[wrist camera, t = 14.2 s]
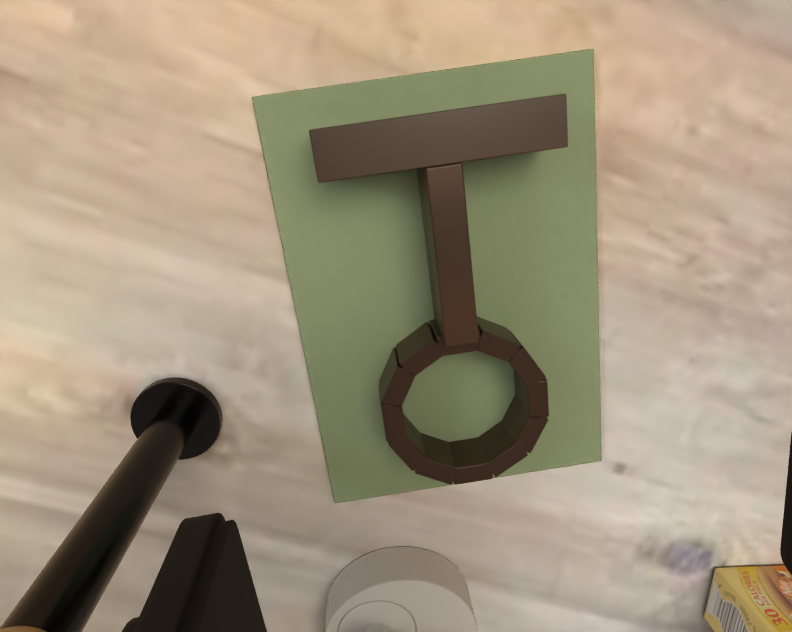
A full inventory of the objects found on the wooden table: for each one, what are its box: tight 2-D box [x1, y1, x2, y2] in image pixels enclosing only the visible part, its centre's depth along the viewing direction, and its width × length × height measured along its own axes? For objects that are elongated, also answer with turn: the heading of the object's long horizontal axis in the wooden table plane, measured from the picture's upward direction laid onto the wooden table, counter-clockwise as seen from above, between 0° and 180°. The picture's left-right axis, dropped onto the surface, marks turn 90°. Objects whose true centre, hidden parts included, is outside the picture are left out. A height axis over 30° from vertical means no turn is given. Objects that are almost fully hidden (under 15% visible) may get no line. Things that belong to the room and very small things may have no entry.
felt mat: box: [252, 49, 602, 503], centre depth 27 cm, size 15×21×1 cm
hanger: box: [309, 94, 568, 485], centre depth 25 cm, size 18×10×4 cm, turn 8°
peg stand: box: [0, 378, 222, 632], centre depth 20 cm, size 4×4×16 cm
